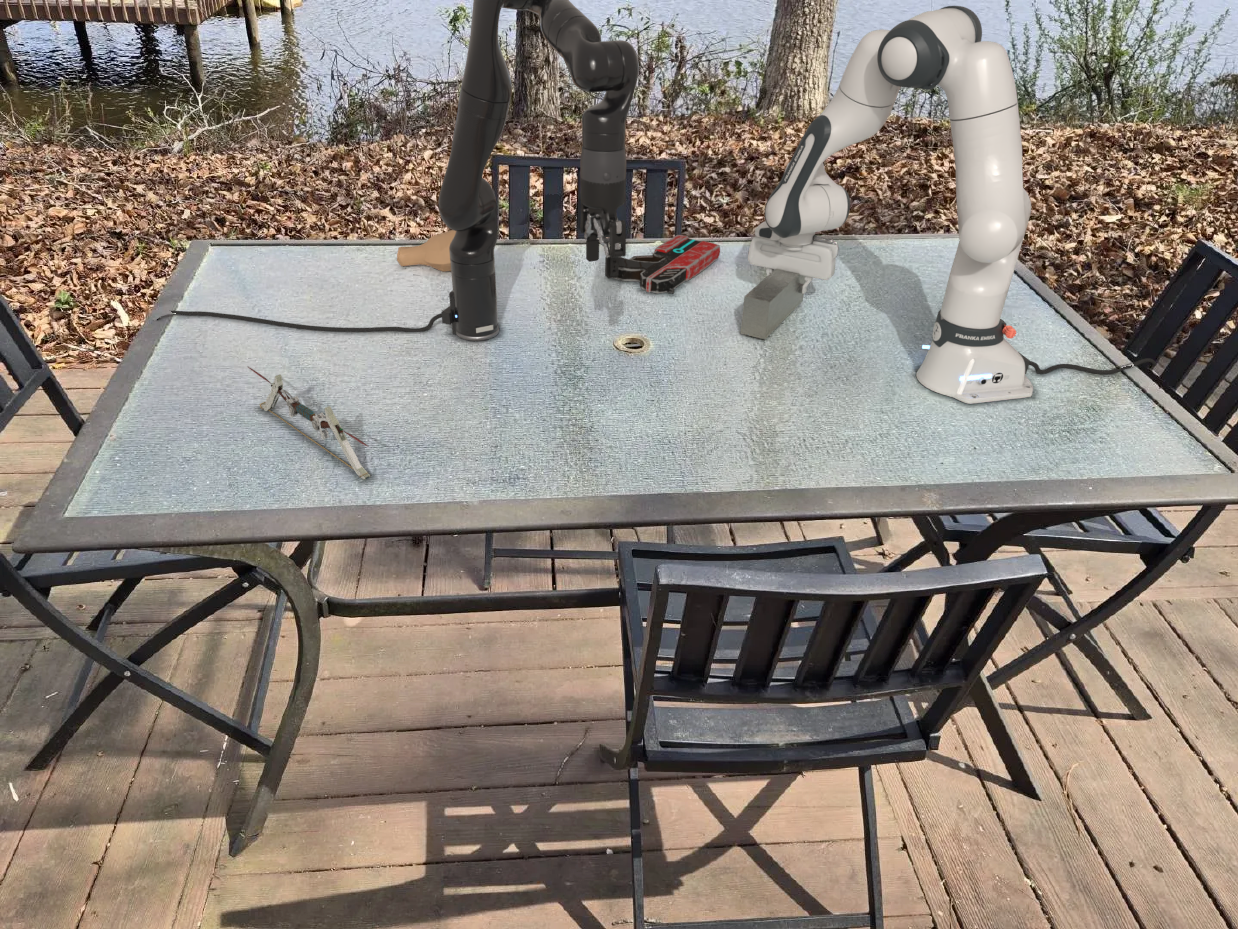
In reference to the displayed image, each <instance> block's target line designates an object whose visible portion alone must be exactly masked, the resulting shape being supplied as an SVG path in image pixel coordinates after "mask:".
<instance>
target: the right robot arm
mask: <svg viewBox="0 0 1238 929" xmlns="http://www.w3.org/2000/svg"><path fill="white" fill-rule="evenodd" d="M982 39H983V28H982V23H981V21H980V18H979V17H978V15H977V14H976V13H975V12H974V11H973V10H972V9H970V8H968V7H966V6H961V5H948V6H944V7H941V8H939V9H934V10H928V11H924V12H922V13H919V14H917V15H914V16H913V17H911V18H909V19H908V20H904V21H901V22H899V23H897V24H896V25H895V26H894V27H893V28H891V29H890V30H889V29H875V30H871V31H869V32H868V33H866V34H865V35H864V36H863V37H861V39H860V40H859V42H858V44H857V46H856V47H855V49H854V50H853V53H852V54H851V57H850V58H849V60H848V62H847V63H846V64H847V65H846V67H845V69H844V72H843V74H842V76H841V79H840V81H839V84H838V87H837V89H836V90H835V93H834V95H833V97H832V98H831V99H830V101H829V103H828V104H827V106H826V107H825V108H824V109H823V111H822V112H821V113H820V114H819V115H818V116H817V117H816V118H815V119H814V120H813V121H811V123H810V124H809V125H808V127H807V129H806V130H805V132H804V134H803V135H802V137H801V139H800V141H799V143H798V145H797V147H796V149H795V151H794V153H793V155H792V157H791V158H790V161H789V162H788V163H787V164H786V167H785V169H784V172H783V175H782V177H781V179H780V181H779V182H778V184H777V185H776V186H775V188H774V189H773V191H772V192H771V193H770V195H769V196H768V199H767V200H766V203H765V207H764V219H765V220H764V221H762V222H760V224H758V225H757V226H756V227H755V229H754V237H753V238H752V239H751V241H750V243H749V248H748V253H747V261H748V263H749V265H751V266H755V267H760V268H765V273H766V277H767V276H768V275H769V274H770V273H772V272H773V271H774V270H775V269H779V270H784V271H789V272H794V273H799V274H800V275H802V276H805V280H806V283H805V284H801V285H800V286H799V291H798V293H802V294H804V295H805V294H806V293H807V291H808V290H807V289H808V286H809V285H810V283H811V282H812V281H813V280H814V279H818V280H821V281H829V280H830V279H831V278H833V276H834V275H835V272H836V264H837V259H836V258H837V257H838V255H839V250H840V247H839V244H838V243H837V242H836V240H834V239H833V238H830V237H824V236H821V235H816V233H819V232H824V231H833V230H836V229H839V228H842V226H844V224H845V223H846V222H847V220H848V217H849V214H850V212H851V198H850V195H849V193H848V191H847V190H846V188H844V187H843V186H842V185H841V184H838V183H836V182H835V181H834V180H833V179H832V178H831V177H830V176H829V174H828V173H827V172H826V169H825V165H824V162H826V160H827V159H828V158H830V157H831V156H833V155H834V154H836V153H838V152H840V151H841V150H843V149H845V148H848V147H851V146H853V145H855V144H858V143H861V142H864V141H866V140H867V139H869V138H871V137H873V136H874V135H876V134H877V133H878V132H879V131H880V130H881V129H882V128H883V126H884V125H885V123H886V122H887V121H888V119H889V117H890V115H891V112H892V110H893V108H894V105H895V103H896V100H897V97H898V95H899V93H900V90H901V88H906V89H907V88H909V89H921V90H926V91H931V90H933V89H934V88H936V87H940V88H941V89H942V90H943V91H944V93H945V97H946V100H947V106H948V108H947V109H948V118H949V124H950V134H951V140H952V147H953V156H954V166H955V195H956V196H955V197H956V198H955V199H956V213H957V214H956V217H957V229H958V240H959V241H958V245H957V248H956V251H955V255H954V258H953V262H952V265H951V268H950V272H949V276H948V279H947V283H946V287H945V292H944V295H943V300H942V303H941V308H940V309H939V310H938V312H937V315H936V317H935V318H936V319H935V322H934V324H933V329H932V335H931V342H930V345H929V344H927V345H926V344H922V346H921V348H922V349H927V353H926V355H925V356H924V359H923V361H922V363H921V364H920V367H919V368H918V369H917V372H916V374H915V375H916V376H915V377H916V379H917V381H918V383H920V384H921V385H922V386H924V387H925V388H926V389H928V390H931V391H932V392H935V393H937V394H940V395H943V396H947V397H950V398H953V399H956V400H957V401H960V402H962V403H965V404H968V405H973V404H981V403H989V402H1000V401H1007V400H1017V399H1024V398H1025V399H1026V398H1031V397H1032V396H1033V393H1034V386H1033V384H1032V382H1031V381H1030V379H1029V378H1028V377H1027V376H1026V375H1027V372H1028V370H1029V366H1031V367H1032V368H1034V371H1035V373H1037V374H1039V375H1046V374H1049V373H1052V372H1054V371H1055V370H1059V369H1071V370H1076V371H1081V372H1085V373H1089V374H1093V375H1094V374H1095V375H1113V374H1117V373H1119V372H1122V371H1125V370H1128V369H1132V368H1133V367H1132V365H1131V366H1126V367H1123V368H1121V369H1117V368H1119V367H1120V366H1119V367H1116V368H1113V369H1097V368H1091V367H1086V366H1083V365H1078V364H1074V363H1073V364H1072V363H1059V364H1055V365H1052V366H1050V367H1048V368H1045V369H1041V368H1040V366H1039V364H1038V363H1036V362H1035V361H1033V360H1030V359H1029V358H1028V357H1026V356H1024V355H1023V354H1022V353H1021V352H1020V351H1018V350H1017V349H1016V348H1015V347H1014V346H1013V345H1012V344H1011V343H1010V342H1009V341H1008V340H1007V339H1014V337H1016V335H1017V330H1016V328H1014V327H1013V326H1012V325H1009V324H1008V325H1007V322H1006V321H1005V320H1003V319H1002V318H1001V317H1002V314H1003V311H1004V307H1005V303H1006V301H1007V297H1008V293H1009V290H1010V286H1011V284H1012V279H1013V276H1014V273H1015V270H1016V266H1017V262H1018V258H1019V255H1020V251H1021V249H1022V245H1023V242H1024V238H1025V234H1026V232H1027V228H1028V224H1029V221H1030V217H1031V214H1032V202H1031V198H1030V196H1029V193H1028V191H1026V189H1025V188H1024V178H1023V143H1022V133H1021V132H1022V131H1021V120H1020V112H1019V102H1018V94H1017V93H1018V92H1017V88H1016V81H1015V77H1014V72H1013V68H1012V65H1011V61H1010V58H1009V55H1008V52H1007V50H1006V48H1005V47H1004V46H1003V45H1002V44H1001V43H998V42H996V41H989V40H983V41H982ZM1004 336H1005V337H1006V338H1007V339H1005V338H1004ZM1132 363H1133V364H1134V366H1135V367H1137V366H1140V365H1142V364H1146V363H1149V364H1150V366H1154V367H1155V366H1157V362H1156V360H1154V359H1153V358H1149V357H1148V358H1141V359H1138V360H1136V361H1133V362H1132ZM1131 367H1132V368H1131Z"/></svg>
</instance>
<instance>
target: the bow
mask: <svg viewBox="0 0 1238 929" xmlns="http://www.w3.org/2000/svg"><path fill="white" fill-rule="evenodd" d="M247 368H248V369H249V370H250V371H252V372H253V373H254V374H256V375H257V376H259V377H260V378H261V379H263V380H264V381H266V382H267V383H268V384H270V393H269V394H268V395H267V397H266V399H265V401H263V402H261V403H259V404H258V405H259V408H260V409H261V410H263V411H265V412H267V411H268V412H270V413H272V414H273V415H274V416H276V417H277V418H278V419H280V420H281V421H283V422H284V423H286V424H287V425H288V426H290V427H291V428H293V429H295V431H297V432H298V433H301V435H303V436H305V437H306V438H307V439H309V440H310V441H312V442H313V443H315V444H316V445H317V446H319V447H320V448H322V449H323V450H325V451H326V452H328V453H329V454H330V455H332V456H333V457H334V458H336V459H337V460H339V461H341V462H342V463H343V464H345V465H346V466H348V467H349V468H350V469H351V470H354V472H355V473H356V475H357V476H358V477H359V478H361V479H362V480H366V479H367V478H370V477H371V474H370V473H369V472H368V471H367V470H366V469H365V468H364V466H362V464H361V463H360V461H359V458H358V455H357V454H356V452H355V451H354V449H353V447H352V445H351V444H350V442H349V440H348V438H347V435H348V436H349V437H351V439H353V440H355V441H357V442H358V443H359V444H362V445H364V446H366V447H367V448H369V447H370V445H369V444H368V443H366V442H364V441H363V440H361V439H360V438H358V437H356V436H355V435H353V433H352V434H351V433H350V432H348V431H345V430H344V428H343V427H342V425H341V424H340V422H339V420H338V418H337V417H336V415H335V413H334V411H333V408H332V407H331V406H330V405H328V406H326V407H324V412H320V413H318V414H316V413H315V411H314V410H312V409H311V408H309V407H308V406H307V405H305V404H303V403H301V402H300V398H299V396H298V395H295V396H294V397H293V396H292V394H290V392H289V391H288V390H286V389H284V381H283V377H282V374H277V375H275V376H274V380H273V382H271V381H270V380H269V379H267V377H265V376H263V375H262V374H260V373H259V372H257V371H256V370H255V369H253V368H252V367H251V366H248V365H247ZM280 397H281V398H282V399H283V401H285V403H286V406H287V407H288V417H290V418H291V419H292V418H294V417H298V414H299V415H300V416H301V417H303V418H304V419H306V420H307V421H309V422H311V426H312V428H313V429H314V430H315V431H319V435H320V439H322V440H323V441H325V440H327V439H329V438H330V435H329V431H328V429H331V431H332V433H333V434H334V437H335V439H336V440H337V442H338V444H339V446H340V449H341V450H342V452H343V454H344V455H345V457H346V459H347V462H348V463H349V464H348V463H347V462H346V461H344V460H343V459H341V458H340V457H338V456H337V455H336V454H334V453H333V452H331V451H330V450H328V449H327V448H326V447H324V446H322V445H321V444H320V443H318V442H316V441H315V440H314V439H312V438H311V437H309V436H308V435H307V434H305V433H304V432H302V431H301V430H299V429H298V428H296V426H294V425H292V424H291V423H289V422H288V421H286V420H285V419H283V418H282V417H281V416H279V415H278V414H277V413H275V412H273V411H272V409H273V408H275V407H276V404H277V403H278V402H279V398H280ZM322 429H323V430H322Z"/></svg>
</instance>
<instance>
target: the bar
mask: <svg viewBox="0 0 1238 929" xmlns="http://www.w3.org/2000/svg"><path fill="white" fill-rule="evenodd" d="M806 282H807V281H806V280H805V276H802V275H800V274H799V273H794V272H789V271H784V270H779V269H775V270H774V271H773V272H772V273H770V274H769V275H768V276H767V275H766V277H764V278H763V279H762V280H761V281H760V282H759V283H758V284H757V285H755V286H754V287H753V288H752V289H751V290H749V291H748V292H747V293H746V294H745V295H744V297H743V306H742V315H741V324H740V335H745V336H749V337H754V338H757V339H761V340H766V339H767V338H768V337H769V336H770V335H771V334H772V333H773V332H774V331H775V330H776V329H777V328H778V327H779V326H780V325H781V324H782V323H783V322H784V321H785V320H786V319H787V318H788V317H789V316H790V315H791V314H792V313H793V312H794V311H795V309H797V307H798V306H800V305H801V304H802V302H803V301H804V296H805V294H802V293H798V291H799V286H800V285H801V284H805V283H806Z"/></svg>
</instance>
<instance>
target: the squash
mask: <svg viewBox="0 0 1238 929" xmlns="http://www.w3.org/2000/svg"><path fill="white" fill-rule="evenodd" d="M455 234H456V231H454V230H452V229H450V230H447V231H444V232H442V233H441V232H440V233H436V234H433V235H432V236H431V237H429V238H428V239H427V241H425V242H424V243H422V244H420V245H411V246H399V247H398V250H397V253H396V261H397V263H398V264H399V265H400V266H401V267H407V266H416V265H418V266H419V265H422V266H427V267H431V268H433V269H435V270H438V271H440V272H442V273H443V272H451V264H450V253H449V246H450V243H451V241H452V240H453V238H454V236H455Z"/></svg>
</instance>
